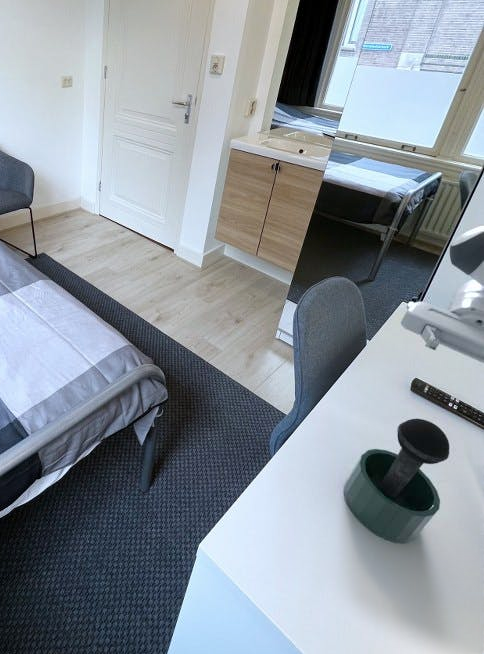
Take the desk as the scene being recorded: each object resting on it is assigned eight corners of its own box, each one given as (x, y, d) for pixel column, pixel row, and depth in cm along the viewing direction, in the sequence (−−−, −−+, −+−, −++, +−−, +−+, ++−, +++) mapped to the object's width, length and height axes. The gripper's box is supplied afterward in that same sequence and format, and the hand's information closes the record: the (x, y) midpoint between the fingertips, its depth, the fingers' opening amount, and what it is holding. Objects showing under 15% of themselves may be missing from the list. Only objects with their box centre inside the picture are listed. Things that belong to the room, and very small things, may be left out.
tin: (409, 492, 78) (428, 465, 74) (426, 556, 69) (449, 529, 65) (340, 466, 82) (355, 439, 78) (347, 524, 72) (365, 496, 68)
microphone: (353, 479, 78) (398, 404, 69) (392, 488, 78) (444, 414, 68) (367, 516, 72) (418, 441, 63) (410, 527, 72) (469, 452, 62)
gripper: (417, 287, 84) (401, 315, 75) (557, 340, 72) (559, 382, 63) (403, 312, 87) (387, 342, 78) (536, 368, 74) (535, 411, 65)
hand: (465, 360), depth 70 cm, fingers open, 8 cm apart
